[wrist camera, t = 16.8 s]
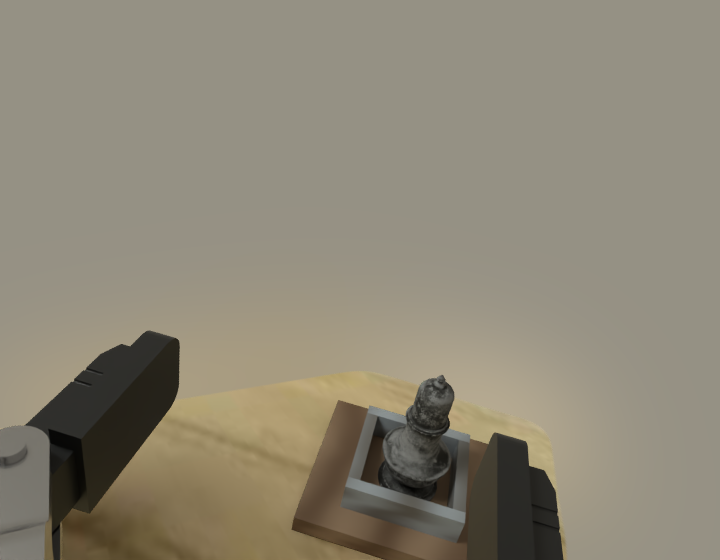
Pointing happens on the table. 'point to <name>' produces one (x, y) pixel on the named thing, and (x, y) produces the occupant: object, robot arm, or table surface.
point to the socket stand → (385, 493)
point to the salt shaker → (419, 443)
